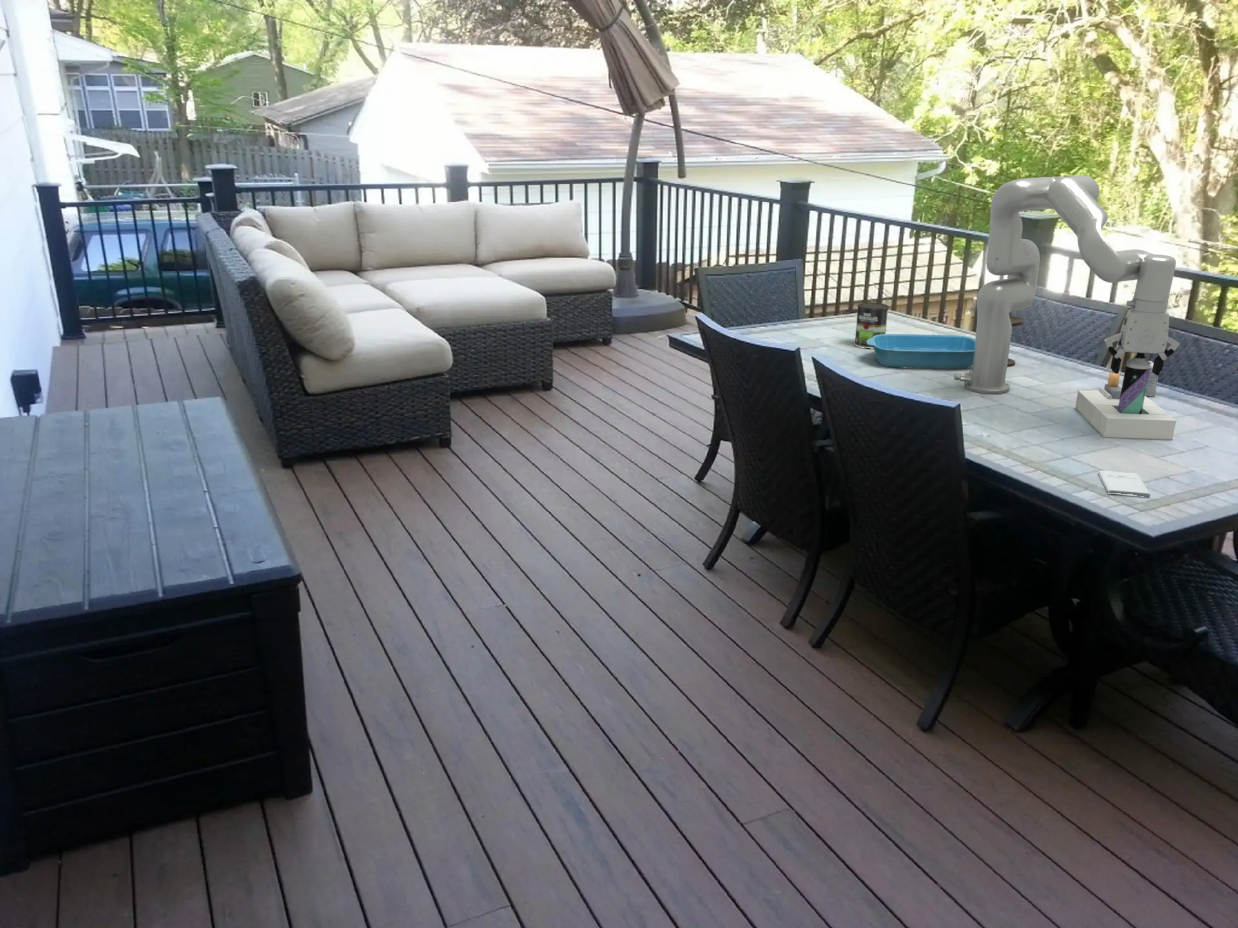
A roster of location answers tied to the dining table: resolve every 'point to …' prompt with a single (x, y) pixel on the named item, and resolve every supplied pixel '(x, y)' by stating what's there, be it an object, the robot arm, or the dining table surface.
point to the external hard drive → (1123, 483)
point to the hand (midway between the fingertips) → (1135, 373)
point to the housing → (1124, 417)
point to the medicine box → (1151, 382)
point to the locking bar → (1113, 386)
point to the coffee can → (870, 322)
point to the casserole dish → (923, 350)
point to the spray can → (1134, 385)
